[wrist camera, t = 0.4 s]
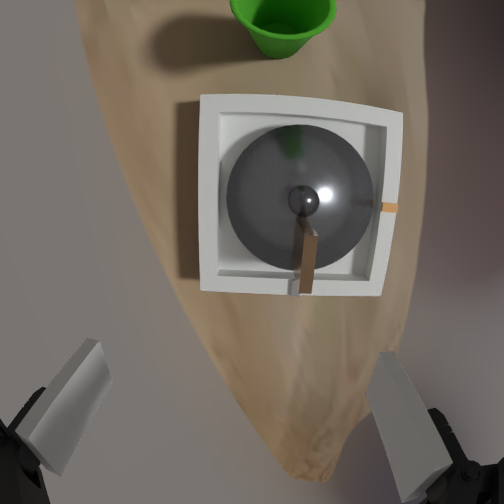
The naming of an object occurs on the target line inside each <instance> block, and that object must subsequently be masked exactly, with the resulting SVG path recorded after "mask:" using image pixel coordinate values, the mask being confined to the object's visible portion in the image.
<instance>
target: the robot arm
mask: <svg viewBox="0 0 504 504" xmlns="http://www.w3.org/2000/svg"><path fill="white" fill-rule="evenodd" d="M112 383H113V381H112V377H111V375H110V372H109V369H108V366H107V363H106V360H105V357H104V354H103V351H102V347H101V344H100V341H99V340H94V339H89V338H87V339H86V340H85V342H84V343H83V344H82V345H81V346H80V347H79V349H78V350H77V351H76V352H75V353H74V354H73V356H72V357H71V358H70V359H69V361H68V362H67V363H66V364H65V366H64V367H63V368H62V369H61V370H60V372H59V373H58V374H57V375H56V377H55V378H54V379H53V380H52V382H51V383H50V384H49V386H48V387H47V388H45V387H42V388H40V389H39V390H37V391H36V392H34V393H33V395H32V396H31V397H30V398H29V401H27V403H26V404H25V405H24V407H23V408H22V409H21V410H20V411H19V413H18V414H17V416H16V417H15V418H14V420H13V421H12V422H11V424H10V425H9V426H8V427H6V426H5V425H4V423H3V422H2V421H1V419H0V504H50V501H49V498H48V494H47V491H46V487H45V484H44V480H43V476H42V472H41V469H40V467H39V465H40V463H42V464H43V465H44V467H45V468H46V469H47V470H49V471H51V472H53V473H55V474H57V475H59V476H61V475H62V473H63V471H64V469H65V467H66V465H67V463H68V461H69V459H70V457H71V456H72V454H73V452H74V450H75V448H76V446H77V444H78V442H79V441H80V439H81V437H82V435H83V433H84V431H85V430H86V428H87V426H88V424H89V422H90V420H91V419H92V417H93V415H94V414H95V412H96V410H97V408H98V407H99V405H100V403H101V401H102V400H103V398H104V396H105V394H106V393H107V391H108V389H109V388H110V386H111V384H112ZM366 396H367V399H368V402H369V405H370V407H371V410H372V413H373V415H374V418H375V421H376V424H377V427H378V429H379V433H380V436H381V438H382V441H383V444H384V447H385V450H386V453H387V456H388V459H389V462H390V466H391V468H392V472H393V475H394V478H395V481H396V485H397V488H398V491H399V495H400V498H401V502H406V501H409V500H412V499H415V498H418V497H420V496H421V495H422V494H423V493H424V492H425V491H426V494H427V497H426V498H425V499H424V500H423V501H422V502H420V503H419V504H504V457H503V458H502V459H501V460H500V461H499V462H498V463H497V464H491V465H484V466H480V464H479V463H477V462H475V461H470V460H468V459H467V457H466V456H465V454H464V452H463V450H462V448H461V446H460V444H459V442H458V440H457V438H456V436H455V434H454V433H452V429H451V427H450V426H449V425H448V422H447V420H446V418H445V416H444V415H443V414H442V413H441V412H440V411H439V410H438V409H436V408H433V409H428V410H427V409H426V408H425V406H424V404H423V402H422V400H421V398H420V397H419V395H418V393H417V391H416V389H415V387H414V385H413V384H412V382H411V380H410V378H409V377H408V375H407V373H406V371H405V370H404V368H403V366H402V364H401V363H400V361H399V359H398V358H397V356H396V354H395V352H394V351H391V352H381V353H379V356H378V359H377V362H376V365H375V369H374V372H373V375H372V378H371V380H370V383H369V386H368V389H367V392H366Z"/></svg>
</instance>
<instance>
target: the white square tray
mask: <svg viewBox="0 0 504 504" xmlns="http://www.w3.org/2000/svg"><path fill="white" fill-rule="evenodd" d="M296 124H301V125H312V126H318V127H321V128H324V129H327V130H329V131H332V132H334V133H336V134H337V135H339V136H341V137H342V138H344V139H345V140H346V141H347V142H348V143H350V144H351V145H352V146H353V147H354V148H355V149H356V151H357V152H358V153H359V154H360V156H361V157H362V159H363V160H364V162H365V164H366V166H367V168H368V171H369V173H370V176H371V180H372V185H373V193H374V202H373V210H372V216H371V219H370V222H369V225H368V227H367V229H366V231H365V233H364V235H363V236H362V238H361V240H360V241H359V242H358V243H357V245H356V246H355V247H354V248H353V249H352V250H351V251H350V252H349V253H348V254H347V255H345V256H344V257H343V258H341V259H340V260H338V261H336V262H334V263H333V264H330V265H328V266H325V267H323V268H319V269H315V270H314V277H313V285H312V293H311V294H299V293H298V289H297V285H296V281H295V277H294V272H293V271H291V270H285V269H280V268H277V267H274V266H272V265H269V264H267V263H265V262H263V261H262V260H260V259H259V258H257V257H256V256H254V255H253V254H252V253H251V252H250V251H249V250H248V249H247V248H246V247H245V246H244V245H243V244H242V243H241V241H240V240H239V238H238V237H237V235H236V233H235V231H234V229H233V227H232V225H231V222H230V219H229V216H228V211H227V202H226V194H227V185H228V181H229V177H230V174H231V171H232V168H233V166H234V165H235V163H236V161H237V159H238V158H239V156H240V155H241V153H242V152H243V151H244V150H245V149H246V148H247V147H248V146H249V145H250V143H252V142H253V141H254V140H256V139H257V138H258V137H260V136H261V135H263V134H265V133H266V132H269V131H271V130H273V129H276V128H279V127H283V126H287V125H296ZM402 133H403V113H401V112H396V111H392V110H387V109H382V108H377V107H372V106H367V105H361V104H355V103H349V102H342V101H335V100H327V99H318V98H309V97H298V96H284V95H264V94H208V95H200V117H199V155H198V224H199V263H200V288H201V290H202V291H218V292H237V293H258V294H285V295H291V296H298V297H299V295H323V296H381V293H382V288H383V284H384V279H385V274H386V270H387V264H388V259H389V254H390V248H391V242H392V236H393V230H394V223H395V216H396V213H398V205H399V204H397V200H398V191H399V181H400V169H401V155H402Z"/></svg>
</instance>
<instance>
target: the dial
mask: <svg viewBox="0 0 504 504" xmlns="http://www.w3.org/2000/svg"><path fill="white" fill-rule="evenodd" d="M226 202H227V211H228V216H229V219H230V222H231V225H232V227H233V229H234V231H235V233H236V235H237V237H238V238H239V240H240V241H241V243H242V244H243V245H244V246H245V247H246V248H247V249H248V250H249V251H250V252H251V253H252V254H253V255H254V256H256V257H257V258H259V259H260V260H262V261H263V262H265V263H267V264H269V265H272V266H274V267H277V268H280V269H285V270H291V271H293V272H294V277H295V281H296V285H297V289H298V293H299V294H311V293H312V285H313V277H314V270H315V269H319V268H323V267H325V266H328V265H330V264H333V263H334V262H336V261H338V260H340V259H341V258H343V257H344V256H345V255H347V254H348V253H349V252H350V251H351V250H352V249H353V248H354V247H355V246H356V245H357V243H358V242H359V241H360V240H361V238H362V236H363V235H364V233H365V231H366V229H367V227H368V225H369V222H370V219H371V216H372V210H373V202H374V193H373V185H372V180H371V176H370V173H369V171H368V168H367V166H366V164H365V162H364V160H363V159H362V157H361V156H360V154H359V153H358V152H357V151H356V149H355V148H354V147H353V146H352V145H351V144H350V143H348V142H347V141H346V140H345V139H344V138H342V137H341V136H339V135H337V134H336V133H334V132H332V131H329V130H327V129H324V128H321V127H318V126H312V125H301V124H296V125H287V126H283V127H279V128H276V129H273V130H271V131H269V132H266V133H265V134H263V135H261V136H260V137H258V138H257V139H256V140H254V141H253V142H252V143H250V145H249V146H248V147H247V148H246V149H245V150H244V151H243V152H242V153H241V155H240V156H239V158H238V159H237V161H236V163H235V165H234V166H233V168H232V171H231V174H230V177H229V181H228V185H227V194H226Z"/></svg>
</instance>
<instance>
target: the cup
mask: <svg viewBox="0 0 504 504" xmlns="http://www.w3.org/2000/svg"><path fill="white" fill-rule="evenodd" d="M230 6H231V10H232V13H233V14H234V16H235V17H236V19H237V20H238V21H239V22H240V23H241V24H242V25H243V26H244V27H246V28H247V30H248V32H249V33H250V35H251V37H252V38H253V40H254V42H255V44H256V45H257V47H258V49H259V50H260V51H261V52H262V53H263V54H265V55H266V56H269V57H271V58H276V59H283V58H288V57H290V56H292V55H294V54H295V53H296V52H297V51H298V50H299V49H300V48H301V47H302V46H303V45H304V44H305V43H306V42H307V41H308V40H309V39H310V38H311V37H313V36H314V35H317V34H319V33H321V32H322V31H323V30H325V29H326V28H327V27H329V25H330V24H331V22H332V21H333V20H334V17H335V14H336V1H335V0H230Z"/></svg>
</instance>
